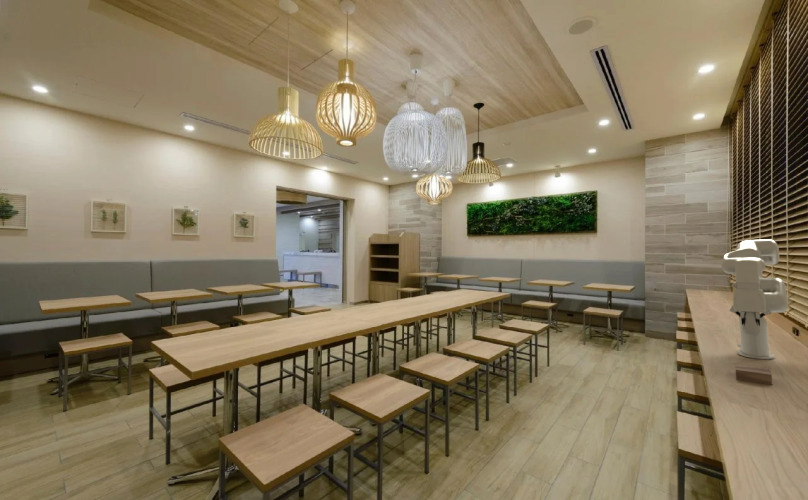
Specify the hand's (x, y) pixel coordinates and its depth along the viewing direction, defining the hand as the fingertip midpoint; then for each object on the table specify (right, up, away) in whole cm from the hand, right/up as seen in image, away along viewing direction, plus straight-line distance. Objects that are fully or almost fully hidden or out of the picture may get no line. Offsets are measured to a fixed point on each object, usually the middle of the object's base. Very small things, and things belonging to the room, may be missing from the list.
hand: (751, 326), depth 150 cm
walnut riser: (-11, -19, -12) cm, 25 cm away
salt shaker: (0, -3, 0) cm, 4 cm away
